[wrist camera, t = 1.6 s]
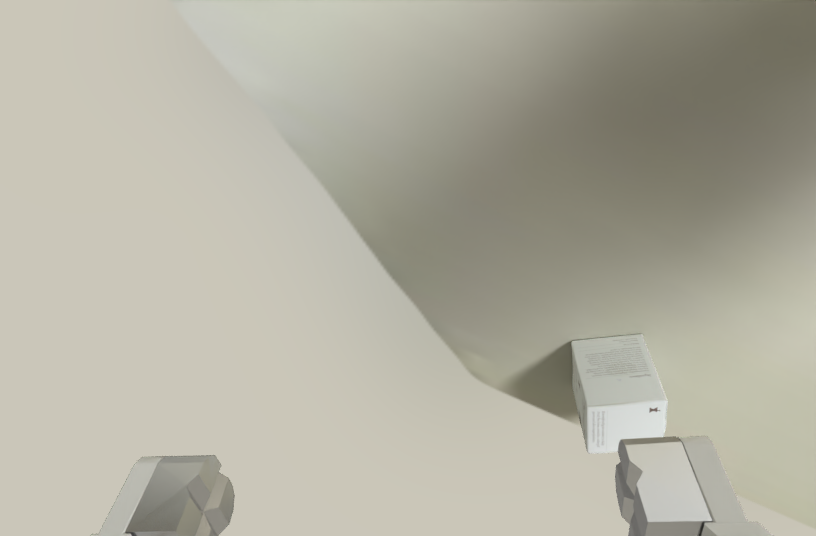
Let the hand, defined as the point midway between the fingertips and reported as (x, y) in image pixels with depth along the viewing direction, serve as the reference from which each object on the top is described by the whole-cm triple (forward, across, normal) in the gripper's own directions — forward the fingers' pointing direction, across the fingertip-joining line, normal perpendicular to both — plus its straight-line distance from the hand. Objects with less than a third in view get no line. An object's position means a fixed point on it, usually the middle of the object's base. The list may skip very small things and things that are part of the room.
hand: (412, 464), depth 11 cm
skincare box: (+30, -12, +29) cm, 43 cm away
